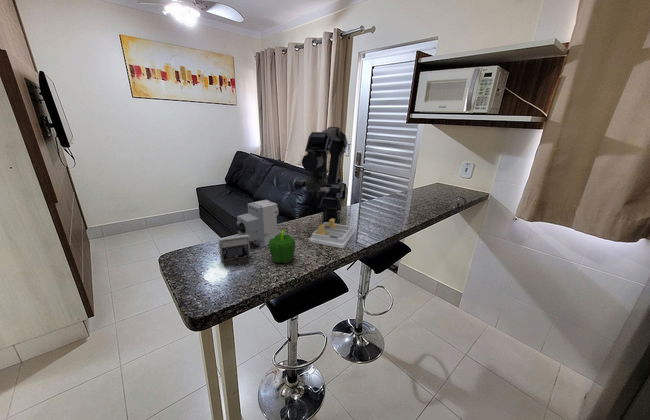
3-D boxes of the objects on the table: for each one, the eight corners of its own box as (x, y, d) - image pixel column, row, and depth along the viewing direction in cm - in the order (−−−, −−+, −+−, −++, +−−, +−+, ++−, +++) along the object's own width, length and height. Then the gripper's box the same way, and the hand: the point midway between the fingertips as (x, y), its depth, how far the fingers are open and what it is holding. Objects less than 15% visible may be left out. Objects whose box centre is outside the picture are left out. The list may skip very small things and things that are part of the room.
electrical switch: (250, 255, 86) (248, 231, 82) (252, 264, 81) (250, 239, 78) (220, 260, 82) (217, 236, 78) (221, 270, 78) (218, 244, 74)
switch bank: (309, 241, 97) (309, 234, 96) (324, 227, 111) (324, 220, 110) (343, 248, 92) (344, 240, 91) (354, 232, 106) (355, 225, 105)
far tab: (327, 230, 105) (327, 220, 103) (329, 227, 107) (329, 217, 106) (333, 231, 104) (334, 221, 102) (336, 228, 106) (336, 219, 105)
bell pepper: (286, 269, 78) (285, 240, 75) (265, 262, 82) (263, 234, 78) (300, 257, 85) (300, 230, 82) (280, 251, 89) (279, 225, 86)
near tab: (316, 236, 98) (316, 226, 97) (319, 234, 101) (319, 223, 99) (323, 238, 97) (323, 227, 96) (326, 235, 100) (326, 225, 98)
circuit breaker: (235, 245, 92) (231, 206, 88) (268, 234, 102) (266, 199, 97) (245, 252, 87) (242, 212, 83) (279, 240, 97) (278, 203, 92)
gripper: (286, 168, 89) (287, 210, 94) (337, 172, 83) (335, 216, 88) (299, 164, 99) (299, 202, 104) (345, 168, 93) (343, 208, 98)
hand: (318, 207), depth 98 cm, fingers closed
